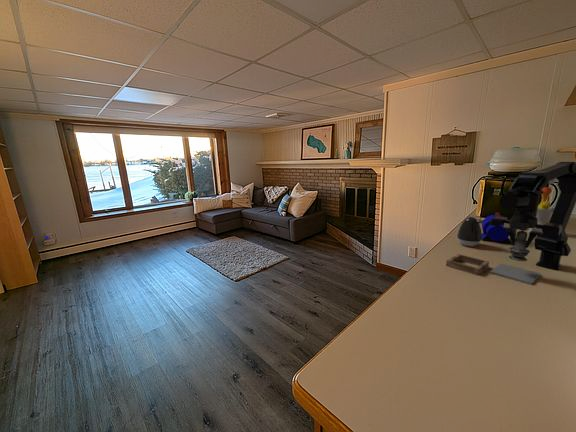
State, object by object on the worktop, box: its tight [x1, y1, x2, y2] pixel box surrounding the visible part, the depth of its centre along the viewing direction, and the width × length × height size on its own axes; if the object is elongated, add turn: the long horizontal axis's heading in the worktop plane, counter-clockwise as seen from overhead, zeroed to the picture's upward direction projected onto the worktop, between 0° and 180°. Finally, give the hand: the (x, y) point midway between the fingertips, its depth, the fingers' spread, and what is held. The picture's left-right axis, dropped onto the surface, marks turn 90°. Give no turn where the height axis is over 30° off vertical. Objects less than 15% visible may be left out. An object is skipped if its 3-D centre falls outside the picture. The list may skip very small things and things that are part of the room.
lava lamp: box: [527, 179, 555, 234], centre depth 134 cm, size 9×9×35 cm
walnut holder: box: [445, 253, 490, 276], centre depth 102 cm, size 11×11×2 cm
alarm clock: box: [481, 211, 512, 245], centre depth 129 cm, size 12×12×15 cm
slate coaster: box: [489, 262, 541, 286], centre depth 94 cm, size 12×12×1 cm
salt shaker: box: [508, 230, 531, 262], centre depth 91 cm, size 6×6×12 cm
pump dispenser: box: [456, 216, 484, 247], centre depth 124 cm, size 10×10×15 cm
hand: (519, 246), depth 91 cm, fingers closed on salt shaker, 3 cm apart
